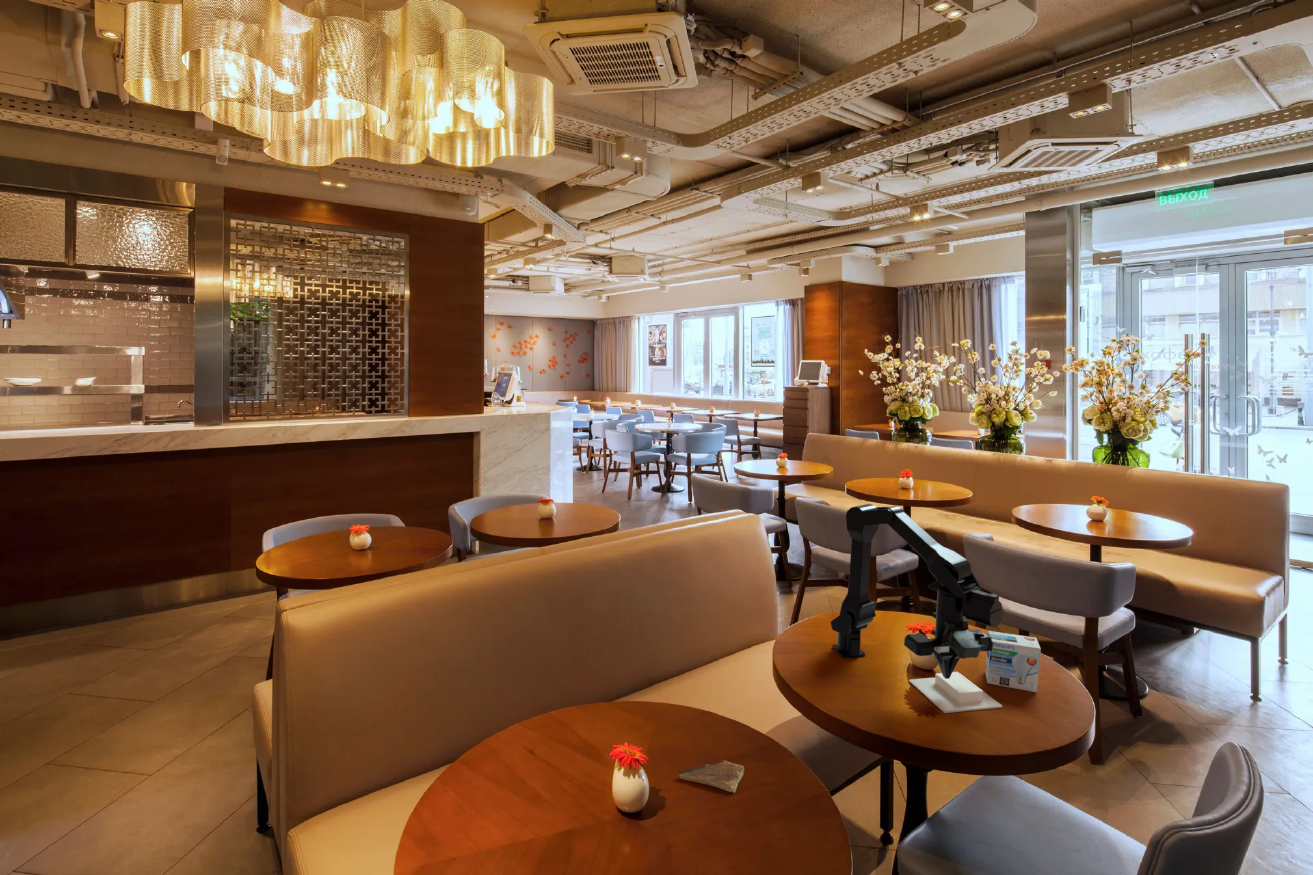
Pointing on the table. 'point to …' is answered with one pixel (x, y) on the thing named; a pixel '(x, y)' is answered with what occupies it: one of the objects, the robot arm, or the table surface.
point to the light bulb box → (1013, 661)
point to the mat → (946, 700)
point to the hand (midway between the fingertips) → (946, 677)
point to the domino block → (959, 688)
